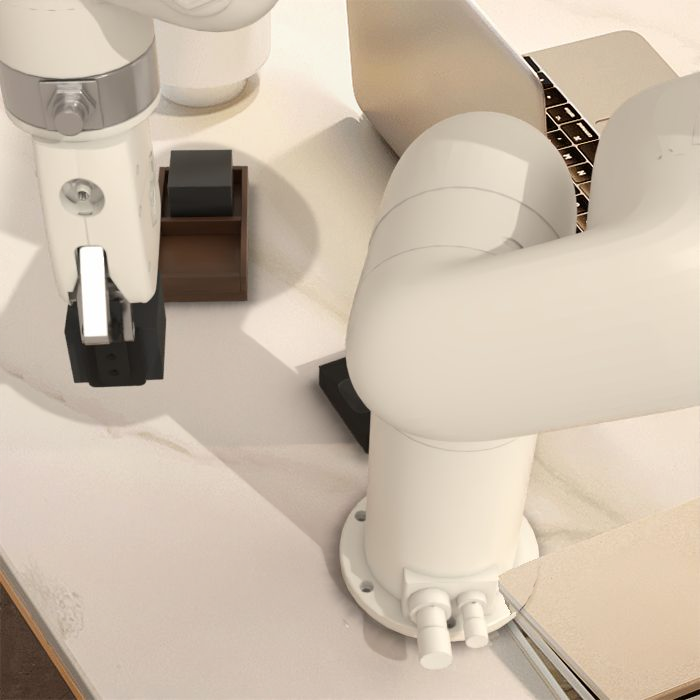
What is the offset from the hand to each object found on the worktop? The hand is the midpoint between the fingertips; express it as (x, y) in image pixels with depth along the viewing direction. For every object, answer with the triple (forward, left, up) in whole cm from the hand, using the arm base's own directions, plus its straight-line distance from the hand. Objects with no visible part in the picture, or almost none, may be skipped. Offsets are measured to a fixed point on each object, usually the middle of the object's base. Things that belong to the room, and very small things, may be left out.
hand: (121, 345), depth 73 cm
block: (0, 0, 0) cm, 0 cm away
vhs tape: (+11, -20, -15) cm, 27 cm away
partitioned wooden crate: (+28, -3, -15) cm, 31 cm away
